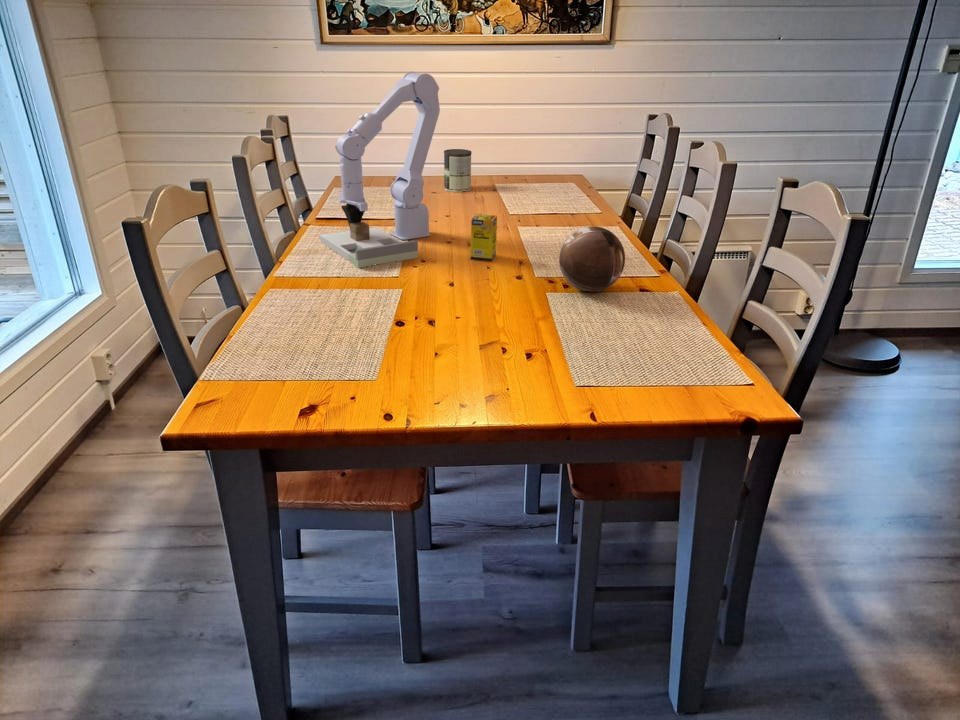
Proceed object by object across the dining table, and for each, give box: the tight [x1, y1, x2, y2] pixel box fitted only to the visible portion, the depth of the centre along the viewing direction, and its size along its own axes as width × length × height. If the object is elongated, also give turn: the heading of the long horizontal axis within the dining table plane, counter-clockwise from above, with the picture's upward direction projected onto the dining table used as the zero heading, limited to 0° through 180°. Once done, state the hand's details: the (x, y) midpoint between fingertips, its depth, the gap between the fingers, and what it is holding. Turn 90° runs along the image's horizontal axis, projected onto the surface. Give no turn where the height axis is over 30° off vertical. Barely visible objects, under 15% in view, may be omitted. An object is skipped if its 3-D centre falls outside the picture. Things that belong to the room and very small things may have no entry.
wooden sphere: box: [558, 226, 626, 292], centre depth 152 cm, size 15×15×15 cm
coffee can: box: [443, 148, 473, 193], centre depth 247 cm, size 10×10×14 cm
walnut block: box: [349, 221, 370, 241], centre depth 180 cm, size 4×4×4 cm
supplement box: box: [470, 213, 498, 262], centre depth 173 cm, size 6×6×11 cm
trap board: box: [319, 227, 419, 269], centre depth 178 cm, size 17×26×4 cm, turn 33°
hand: (355, 231), depth 183 cm, fingers closed
